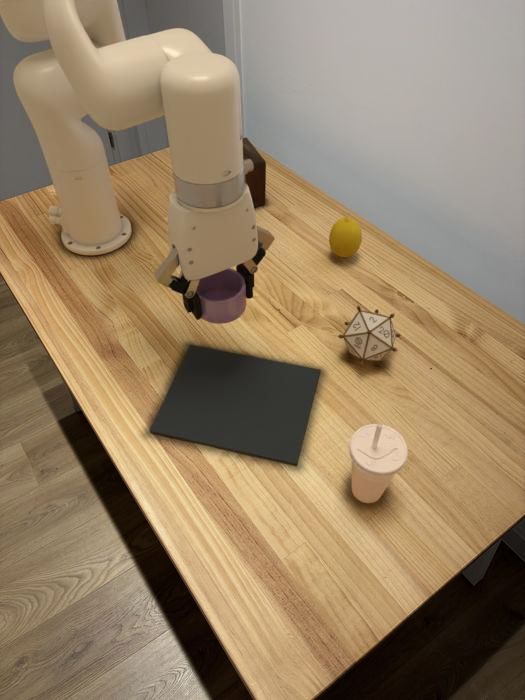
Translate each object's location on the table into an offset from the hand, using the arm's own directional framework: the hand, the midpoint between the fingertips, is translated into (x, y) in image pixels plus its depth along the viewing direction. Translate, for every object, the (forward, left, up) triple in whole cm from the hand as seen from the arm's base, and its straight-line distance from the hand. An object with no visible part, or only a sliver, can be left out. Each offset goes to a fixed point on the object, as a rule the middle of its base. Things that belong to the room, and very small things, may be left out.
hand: (220, 301), depth 73 cm
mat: (+4, -7, -12) cm, 14 cm away
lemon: (+13, +28, -12) cm, 33 cm away
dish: (0, 0, -1) cm, 1 cm away
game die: (+20, +6, -12) cm, 24 cm away
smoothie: (+23, -16, -12) cm, 30 cm away
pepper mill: (-10, +39, -12) cm, 42 cm away
